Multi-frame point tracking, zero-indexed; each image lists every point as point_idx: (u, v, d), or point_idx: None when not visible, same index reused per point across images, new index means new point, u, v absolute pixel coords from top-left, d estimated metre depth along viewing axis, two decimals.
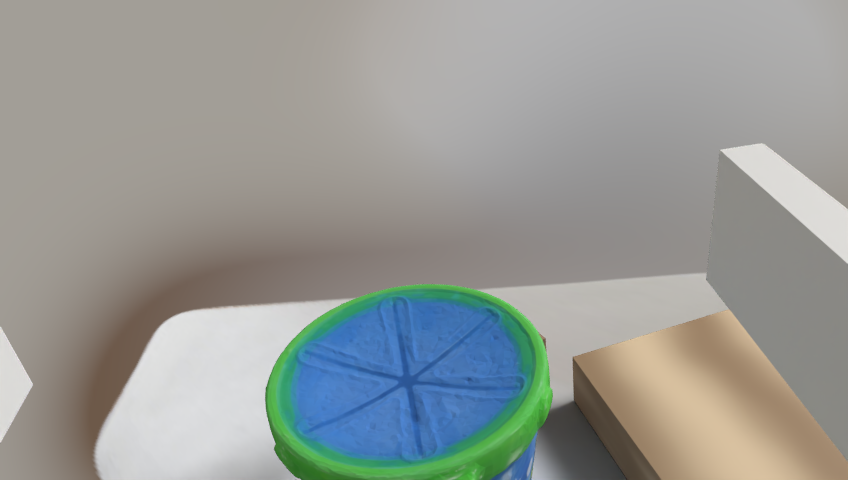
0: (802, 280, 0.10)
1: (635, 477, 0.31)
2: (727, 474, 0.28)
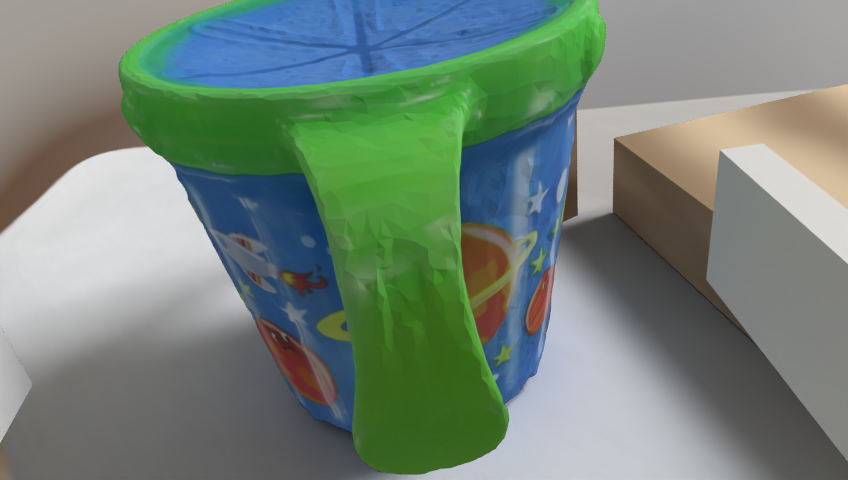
0: (802, 280, 0.10)
1: None
2: None
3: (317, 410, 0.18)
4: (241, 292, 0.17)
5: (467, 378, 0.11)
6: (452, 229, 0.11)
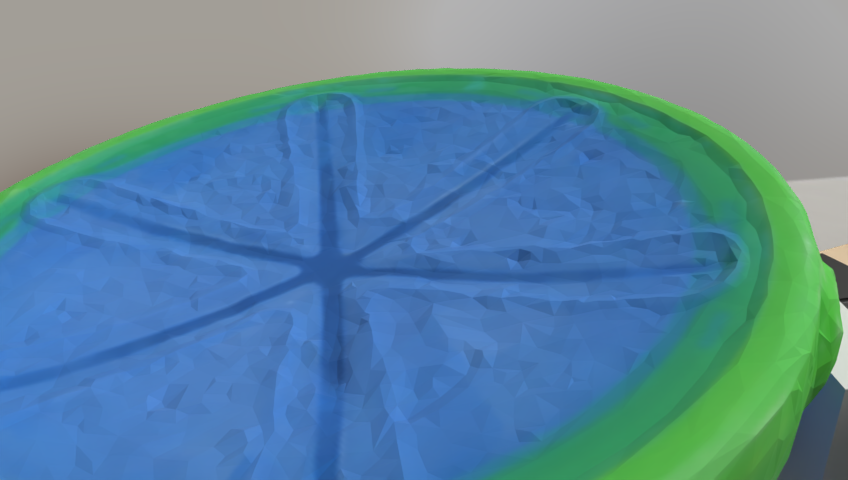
0: None
1: None
2: None
3: None
4: None
5: None
6: None
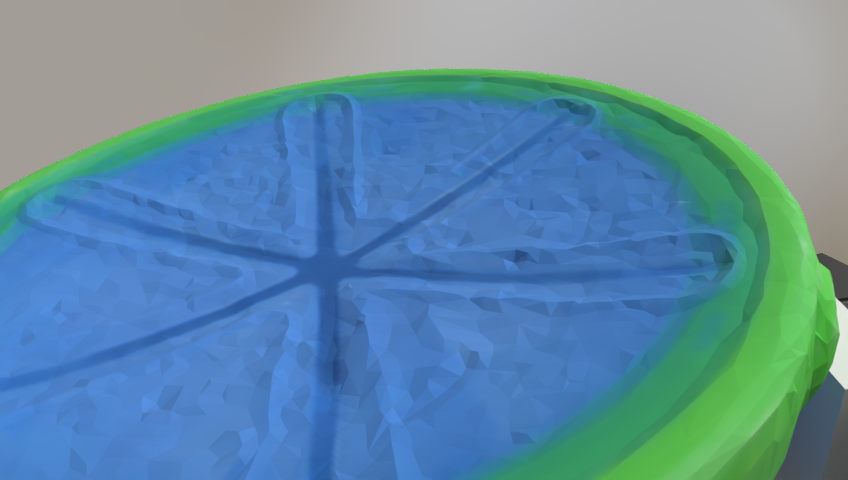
0: None
1: None
2: None
3: None
4: None
5: None
6: None
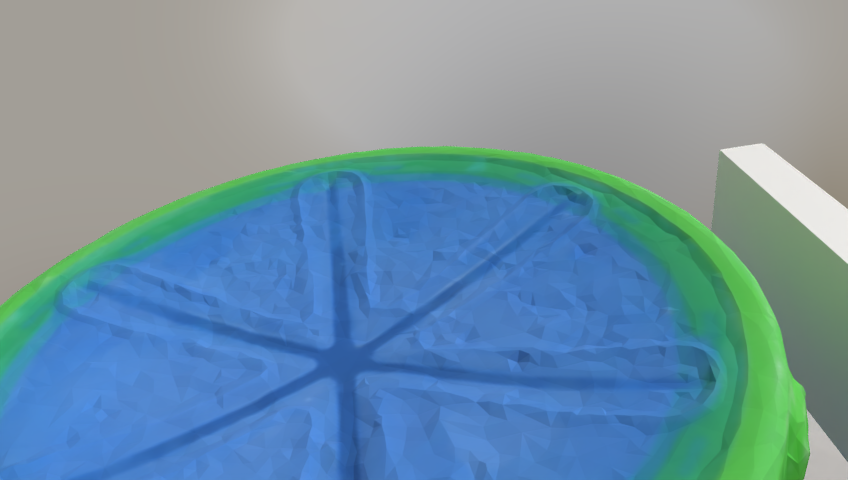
0: (802, 280, 0.10)
1: None
2: None
3: None
4: None
5: None
6: None
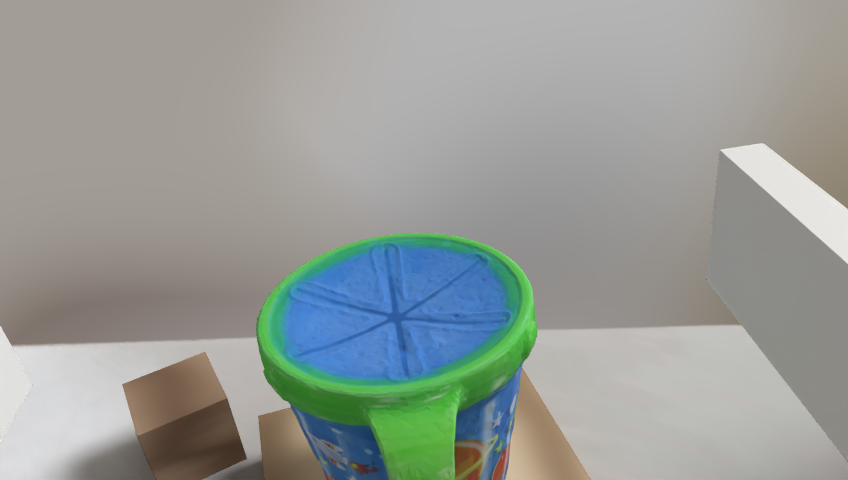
0: (802, 281, 0.10)
1: None
2: None
3: None
4: (319, 460, 0.27)
5: None
6: (450, 473, 0.21)
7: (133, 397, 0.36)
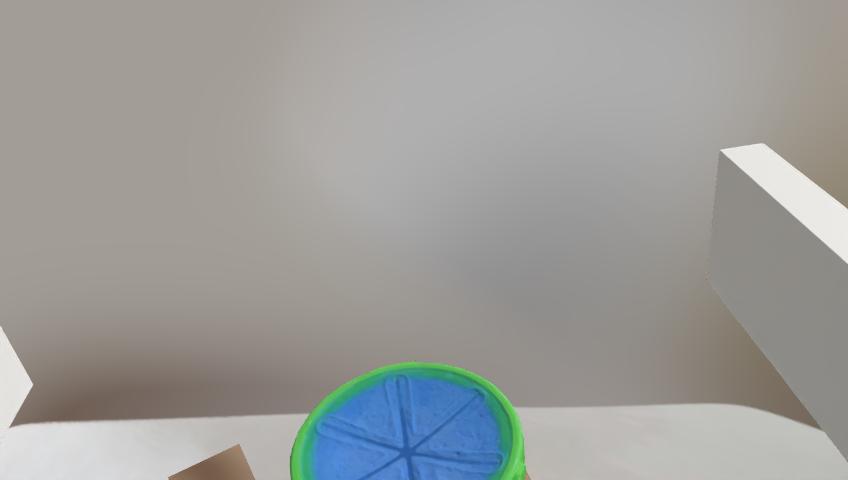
0: (802, 280, 0.10)
1: None
2: None
3: None
4: None
5: None
6: None
7: None
